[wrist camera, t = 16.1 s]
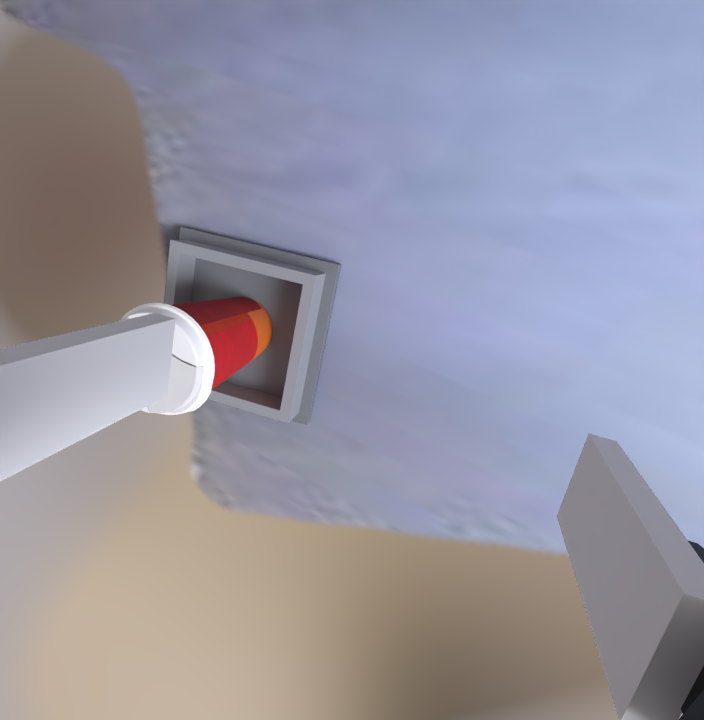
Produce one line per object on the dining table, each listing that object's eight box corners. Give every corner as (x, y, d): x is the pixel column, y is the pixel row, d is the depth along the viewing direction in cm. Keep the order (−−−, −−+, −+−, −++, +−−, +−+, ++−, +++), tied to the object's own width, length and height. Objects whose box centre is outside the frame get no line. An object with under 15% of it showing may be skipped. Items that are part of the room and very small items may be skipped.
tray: (185, 227, 48) (161, 226, 44) (341, 264, 45) (329, 266, 42) (169, 379, 53) (145, 389, 49) (309, 421, 50) (296, 436, 46)
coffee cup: (190, 321, 49) (77, 355, 35) (244, 266, 47) (145, 279, 32) (245, 385, 49) (154, 444, 35) (302, 334, 47) (229, 376, 33)
